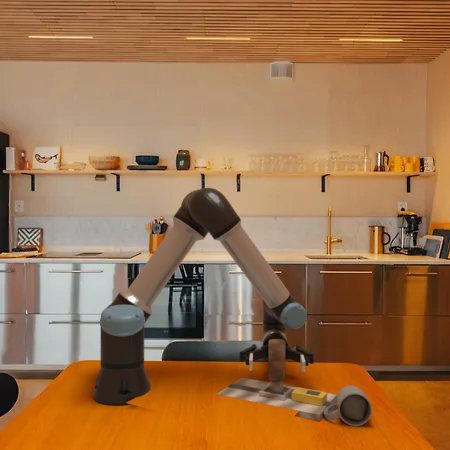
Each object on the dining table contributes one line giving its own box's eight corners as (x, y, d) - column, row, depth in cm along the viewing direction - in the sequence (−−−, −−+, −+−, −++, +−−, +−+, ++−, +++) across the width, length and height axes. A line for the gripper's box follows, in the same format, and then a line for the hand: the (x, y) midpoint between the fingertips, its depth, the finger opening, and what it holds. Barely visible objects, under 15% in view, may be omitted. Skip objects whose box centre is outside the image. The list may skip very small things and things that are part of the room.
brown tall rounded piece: (265, 394, 127) (265, 341, 127) (272, 389, 131) (272, 338, 130) (281, 397, 125) (281, 343, 124) (287, 392, 128) (287, 340, 128)
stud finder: (291, 400, 123) (291, 391, 123) (297, 394, 127) (297, 386, 127) (322, 406, 119) (322, 397, 119) (327, 400, 123) (327, 391, 123)
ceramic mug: (365, 413, 119) (365, 382, 119) (372, 427, 111) (371, 394, 111) (322, 412, 120) (321, 381, 120) (325, 425, 112) (325, 393, 112)
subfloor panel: (216, 399, 128) (216, 389, 128) (241, 382, 141) (242, 373, 141) (319, 421, 114) (319, 409, 114) (336, 400, 127) (336, 390, 127)
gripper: (316, 358, 144) (326, 382, 123) (233, 356, 146) (228, 379, 125) (317, 333, 144) (326, 353, 123) (234, 331, 146) (229, 350, 125)
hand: (277, 366), depth 124 cm, fingers open, 13 cm apart
